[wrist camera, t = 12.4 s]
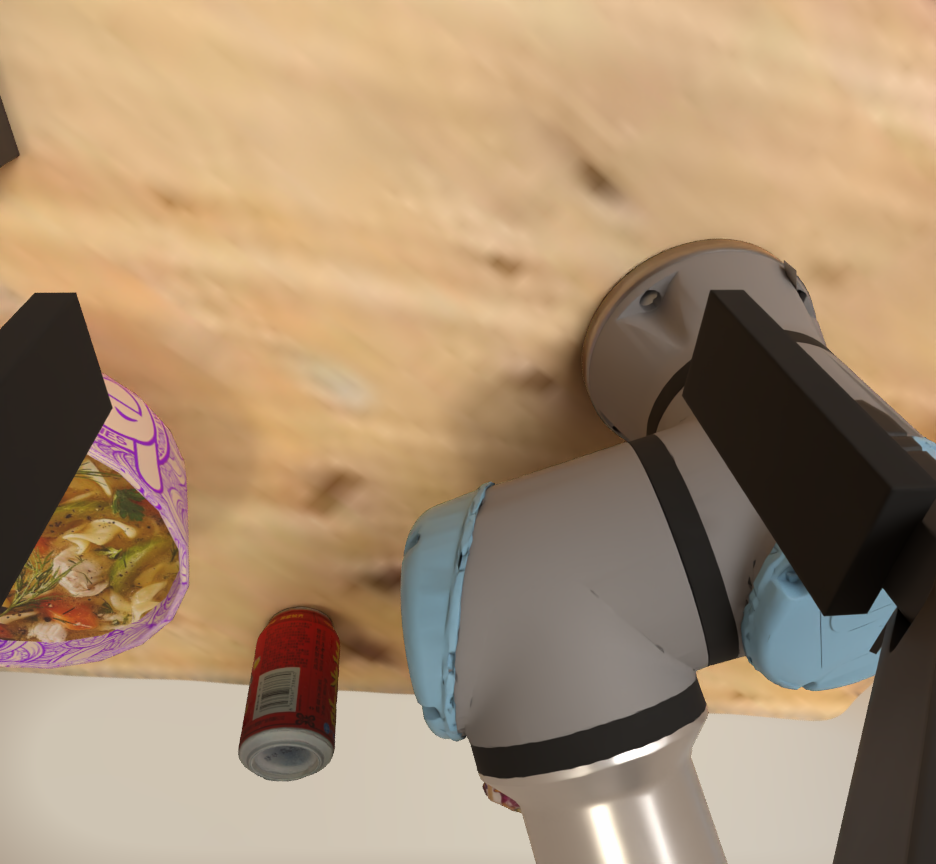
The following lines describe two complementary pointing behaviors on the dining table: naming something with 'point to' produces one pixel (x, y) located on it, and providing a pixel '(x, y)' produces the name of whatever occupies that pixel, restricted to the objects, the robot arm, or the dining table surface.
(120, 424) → the bowl of food
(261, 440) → the dining table surface
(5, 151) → the tv remote
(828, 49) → the dining table surface
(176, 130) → the dining table surface
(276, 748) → the soda can
